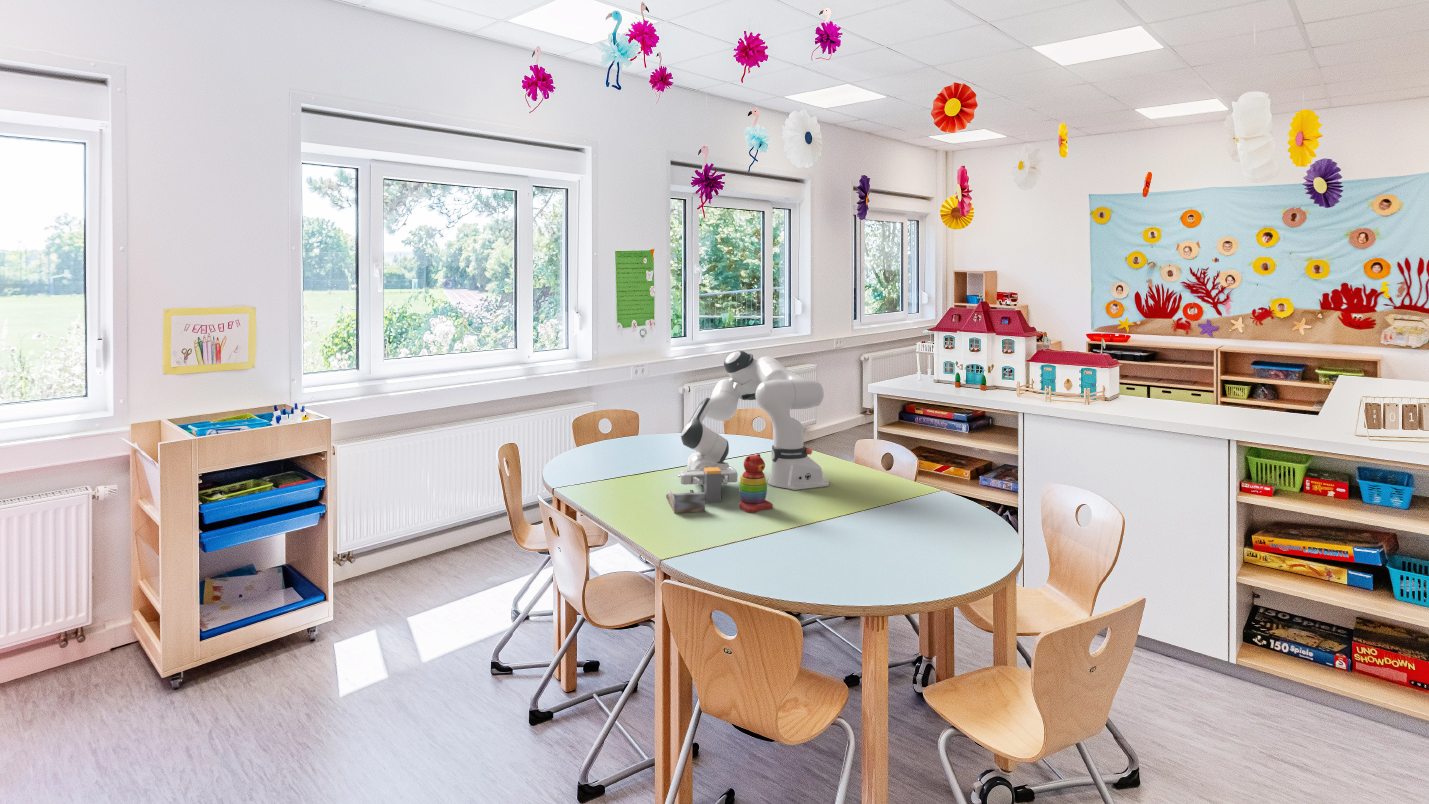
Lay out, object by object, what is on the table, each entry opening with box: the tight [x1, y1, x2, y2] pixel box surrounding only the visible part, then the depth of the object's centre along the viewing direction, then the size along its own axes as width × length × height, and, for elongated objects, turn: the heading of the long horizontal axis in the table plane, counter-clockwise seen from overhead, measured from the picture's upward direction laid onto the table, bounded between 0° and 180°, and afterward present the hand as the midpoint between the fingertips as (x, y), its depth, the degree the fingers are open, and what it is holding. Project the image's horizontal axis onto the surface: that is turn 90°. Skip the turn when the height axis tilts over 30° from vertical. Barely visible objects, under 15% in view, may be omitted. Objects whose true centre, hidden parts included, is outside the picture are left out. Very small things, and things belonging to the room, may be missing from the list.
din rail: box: [665, 489, 706, 514], centre depth 257 cm, size 10×18×6 cm, turn 12°
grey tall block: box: [703, 467, 722, 504], centre depth 262 cm, size 5×5×11 cm
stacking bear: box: [738, 453, 774, 514], centre depth 254 cm, size 11×10×18 cm
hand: (712, 482), depth 261 cm, fingers open, 7 cm apart
